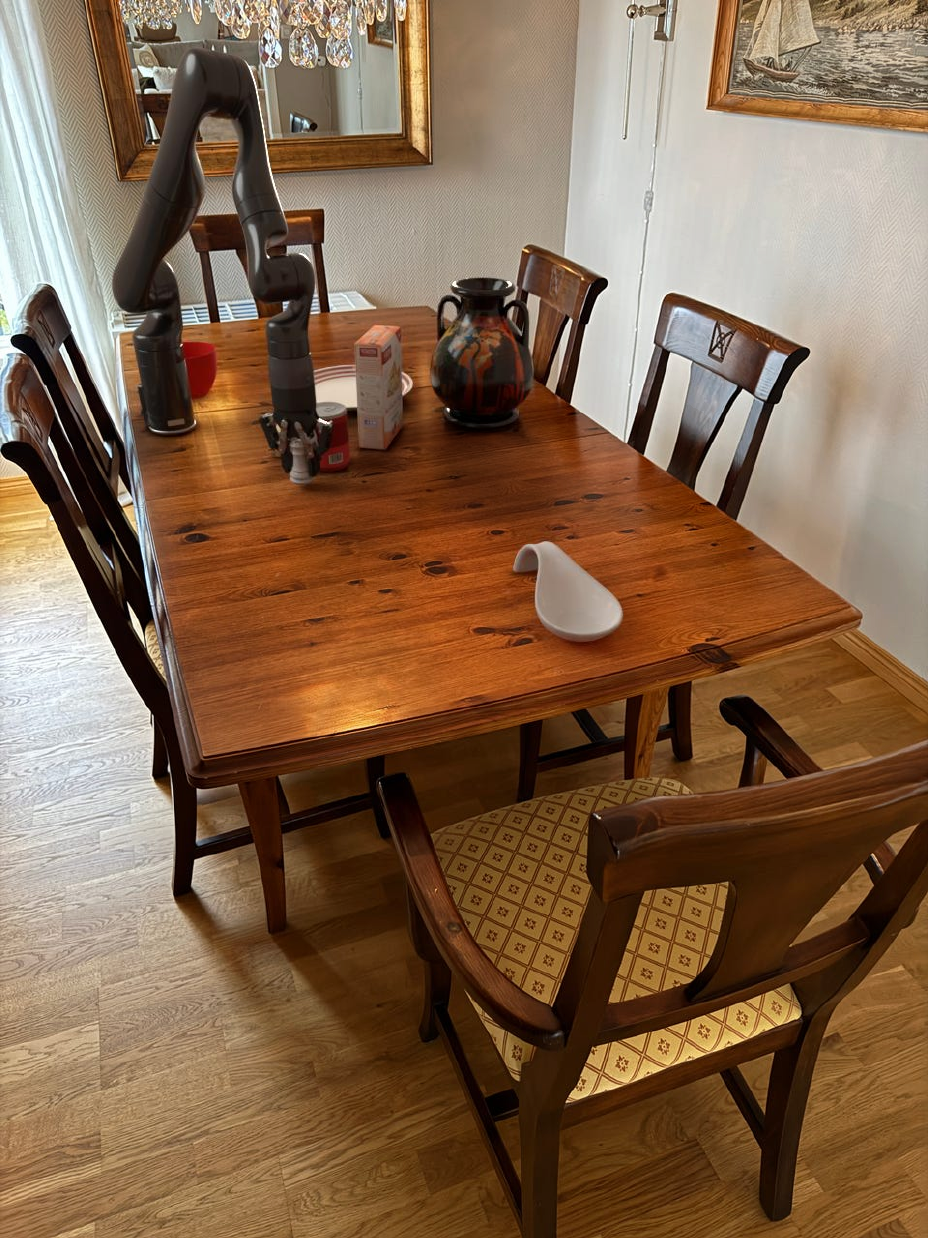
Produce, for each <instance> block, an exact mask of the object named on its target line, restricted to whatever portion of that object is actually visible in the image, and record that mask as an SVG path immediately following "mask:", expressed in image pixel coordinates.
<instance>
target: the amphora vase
mask: <svg viewBox="0 0 928 1238" xmlns="http://www.w3.org/2000/svg"><path fill="white" fill-rule="evenodd" d="M516 289H517V287H516V285H515V284H514V282H512V281H509V280H506V279H504V278H496V277H482V276H481V277H468V278H462V279H458V280H456V281H454V282H452V284H451V285H450V290H451V292H452V293H453V294H454V295H452V294H446V295H444V296H442V297H441V298H440V301H439V302H438V305H437V310H436V336H437V337H436V346H435V349H434V351H433V353H432V356H431V360H430V366H429V367H430V368H429V374H430V375H429V376H430V377H429V378H430V383H431V387H432V390H433V393H434V394H435V396H436V397H437V399H438V400H439V402H440V403H442V405H443V406H444V408H443V411H442V417H443V418H442V419H443V420H444V421H445V422H446V423H447V424H448V425H449V426H451V427H453V428H455V429H457V430H462V431H464V432H465V431H466V432H472V433H493V432H498V431H499V432H500V431H503V430H506V429H508V428H511V427H513V426H514V425H515V424H516V423H517V422H519V420H520V417H521V413H520V410H519V408H518V407H519V406H520V405H521V404H522V403H523V402H525V400H526V399H527V397H528V396H529V394H530V392H531V389H532V387H533V383H534V375H535V368H534V358H533V355H532V353H531V350H530V347H529V346H530V311H529V308H528V306H527V304H526V303H525V302H523V301H522V300H520V299H512V300H510V301H509V302H507V303H506V299H507V297H509V296H511V295H513V294H515V292H516ZM455 295H456V296H455ZM457 296H458V297H459V298H458V297H457ZM447 303H452V304H453V305H454V307H455V309H456V317H455V318H454V319H453V320H452V321H451V322H450V323H449V324H448V325H447V327H446V328H445V318H444V313H445V306H446V304H447ZM513 307H515V308H518V309H519V310H520V312H521V317H522V329H521V330H520V329H519V327H518V326H517V324H516V323H515V322H514V321H513V320H512V319H511V317H510V310H511V309H512V308H513Z"/></svg>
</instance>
